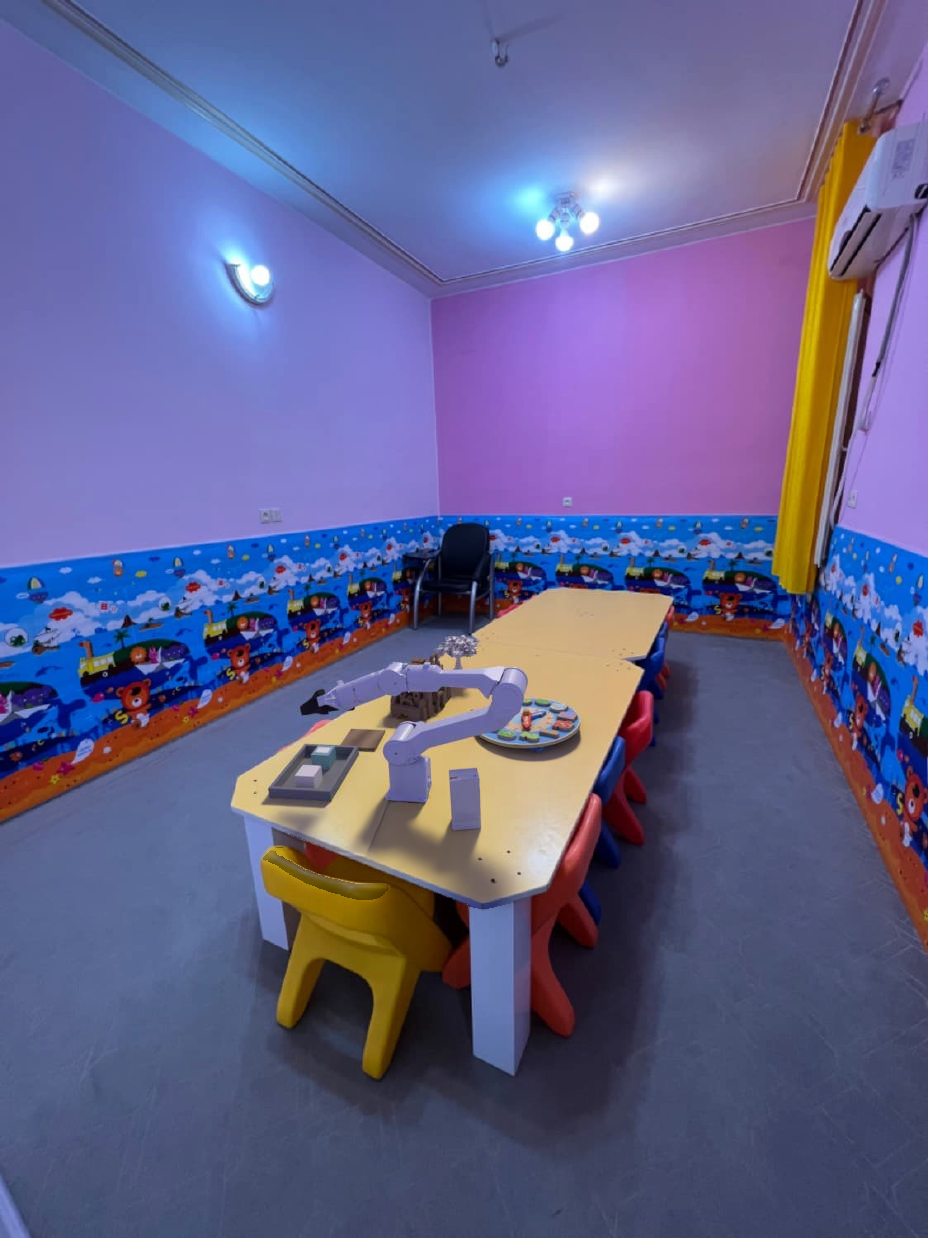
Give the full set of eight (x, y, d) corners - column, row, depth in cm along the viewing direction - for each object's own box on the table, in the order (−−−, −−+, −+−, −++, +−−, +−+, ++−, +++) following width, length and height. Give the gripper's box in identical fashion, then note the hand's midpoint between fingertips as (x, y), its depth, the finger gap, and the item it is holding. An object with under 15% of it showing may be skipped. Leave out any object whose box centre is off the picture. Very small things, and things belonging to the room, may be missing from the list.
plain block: (322, 780, 117) (321, 765, 115) (315, 791, 112) (313, 776, 111) (304, 779, 117) (303, 764, 116) (296, 790, 113) (294, 775, 112)
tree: (473, 668, 187) (472, 627, 182) (490, 684, 172) (489, 639, 168) (428, 676, 181) (426, 633, 176) (441, 692, 166) (440, 646, 162)
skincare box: (478, 815, 104) (478, 765, 101) (481, 830, 100) (481, 778, 96) (450, 818, 103) (448, 767, 100) (451, 832, 99) (450, 780, 96)
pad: (385, 733, 139) (385, 730, 139) (375, 752, 129) (375, 748, 129) (351, 732, 140) (351, 728, 140) (339, 750, 130) (338, 746, 130)
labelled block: (336, 760, 125) (334, 745, 124) (329, 769, 121) (328, 755, 120) (319, 759, 126) (318, 745, 125) (312, 769, 121) (310, 754, 120)
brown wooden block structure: (419, 689, 169) (416, 638, 164) (457, 696, 163) (455, 643, 158) (384, 716, 150) (380, 659, 145) (425, 725, 144) (423, 666, 139)
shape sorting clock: (507, 697, 162) (507, 680, 160) (596, 721, 145) (597, 702, 143) (452, 736, 138) (452, 716, 136) (551, 770, 121) (551, 748, 119)
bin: (359, 756, 128) (358, 746, 127) (331, 803, 109) (330, 791, 108) (306, 753, 129) (304, 743, 128) (269, 799, 111) (268, 788, 110)
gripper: (373, 673, 116) (327, 691, 120) (336, 674, 102) (287, 694, 106) (381, 702, 114) (335, 719, 118) (345, 707, 101) (294, 726, 105)
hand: (312, 709), depth 112 cm, fingers open, 7 cm apart
